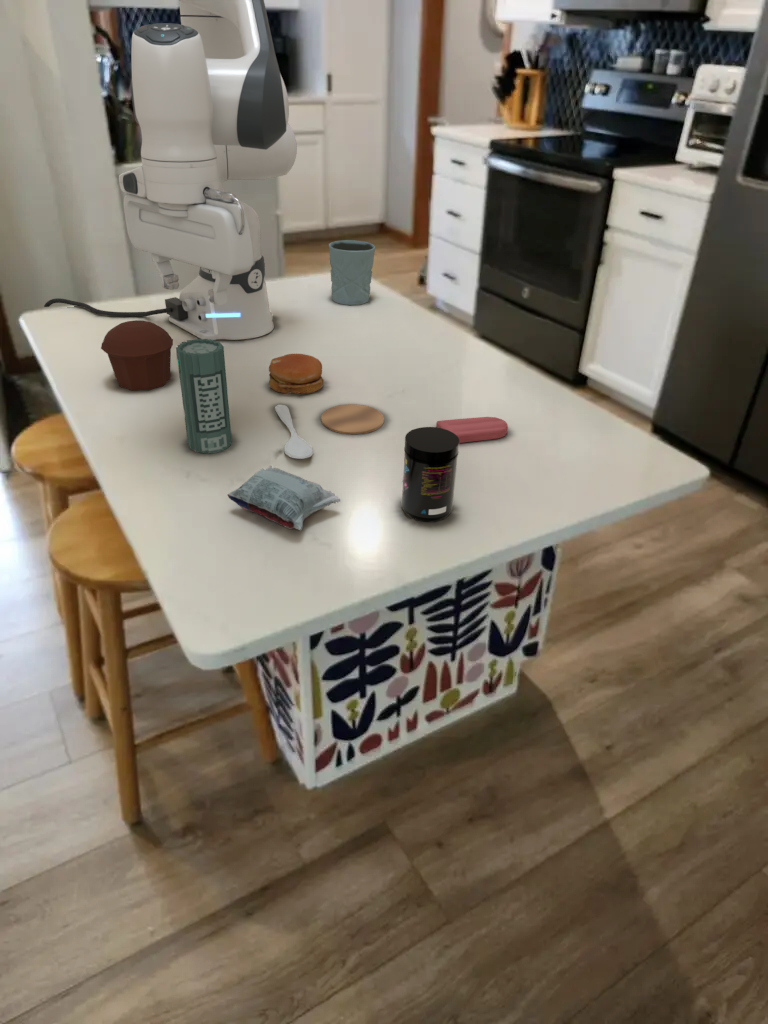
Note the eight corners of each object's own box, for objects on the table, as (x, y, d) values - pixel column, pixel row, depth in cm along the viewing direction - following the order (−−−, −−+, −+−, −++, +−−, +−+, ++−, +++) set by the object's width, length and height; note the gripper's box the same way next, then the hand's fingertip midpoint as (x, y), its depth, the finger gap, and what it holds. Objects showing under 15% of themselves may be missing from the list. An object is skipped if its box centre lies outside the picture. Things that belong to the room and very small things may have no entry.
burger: (329, 393, 127) (329, 367, 124) (276, 399, 124) (274, 373, 121) (315, 371, 134) (314, 346, 132) (264, 376, 132) (262, 351, 129)
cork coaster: (308, 421, 118) (308, 418, 117) (348, 401, 124) (348, 398, 124) (357, 440, 113) (357, 438, 112) (396, 418, 119) (396, 416, 119)
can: (223, 431, 114) (215, 336, 106) (236, 448, 109) (227, 351, 101) (184, 438, 111) (172, 342, 103) (195, 456, 107) (183, 357, 99)
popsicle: (410, 422, 115) (500, 414, 118) (409, 431, 116) (498, 423, 119) (420, 438, 111) (513, 429, 114) (420, 447, 111) (512, 438, 115)
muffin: (170, 363, 135) (163, 309, 129) (185, 387, 127) (178, 330, 121) (102, 373, 130) (91, 317, 125) (113, 398, 122) (102, 339, 117)
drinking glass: (320, 298, 169) (319, 244, 163) (349, 289, 176) (350, 237, 169) (353, 309, 164) (353, 253, 158) (382, 299, 171) (384, 245, 164)
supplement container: (435, 491, 101) (441, 422, 95) (462, 516, 96) (470, 445, 90) (391, 503, 98) (395, 432, 93) (417, 529, 93) (422, 456, 88)
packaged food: (272, 482, 102) (270, 451, 99) (341, 512, 96) (341, 479, 93) (227, 511, 96) (223, 478, 93) (297, 544, 90) (295, 510, 87)
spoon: (288, 468, 105) (288, 458, 104) (267, 406, 121) (266, 397, 121) (317, 465, 106) (317, 455, 105) (292, 404, 122) (292, 395, 122)
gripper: (261, 191, 88) (267, 307, 95) (150, 169, 98) (164, 276, 105) (221, 198, 83) (231, 319, 91) (109, 175, 93) (126, 285, 101)
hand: (194, 295), depth 98 cm, fingers open, 8 cm apart
